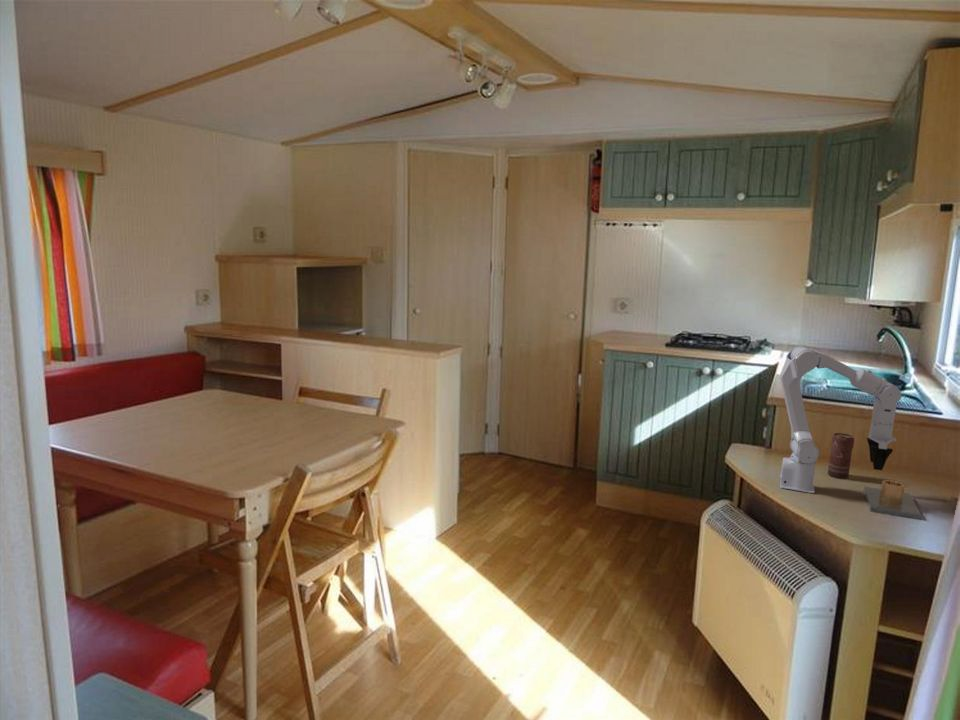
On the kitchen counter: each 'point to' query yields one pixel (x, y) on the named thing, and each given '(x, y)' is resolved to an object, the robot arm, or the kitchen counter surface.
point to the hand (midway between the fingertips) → (876, 465)
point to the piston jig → (891, 504)
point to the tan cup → (892, 491)
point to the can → (840, 455)
